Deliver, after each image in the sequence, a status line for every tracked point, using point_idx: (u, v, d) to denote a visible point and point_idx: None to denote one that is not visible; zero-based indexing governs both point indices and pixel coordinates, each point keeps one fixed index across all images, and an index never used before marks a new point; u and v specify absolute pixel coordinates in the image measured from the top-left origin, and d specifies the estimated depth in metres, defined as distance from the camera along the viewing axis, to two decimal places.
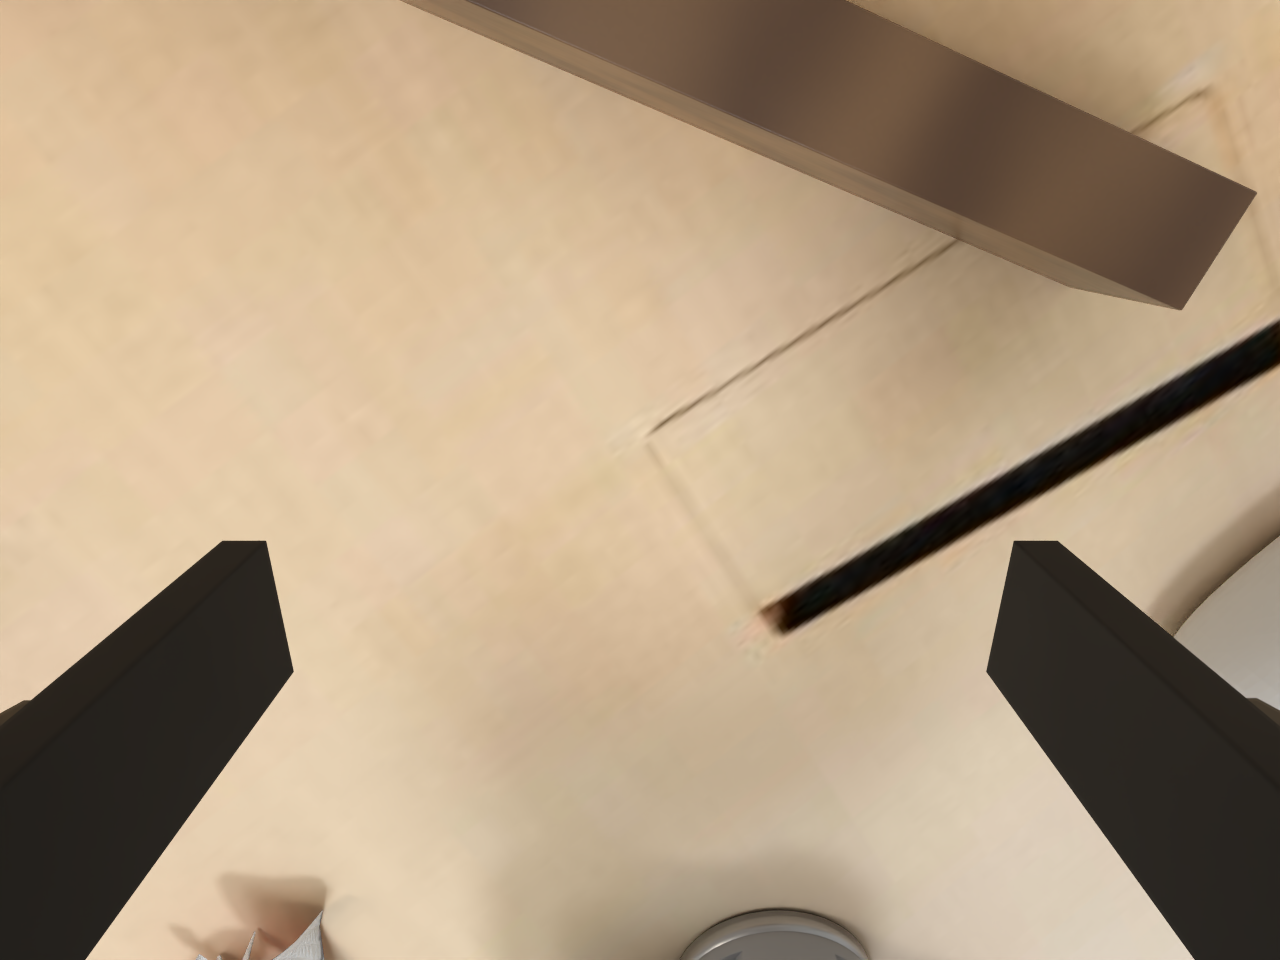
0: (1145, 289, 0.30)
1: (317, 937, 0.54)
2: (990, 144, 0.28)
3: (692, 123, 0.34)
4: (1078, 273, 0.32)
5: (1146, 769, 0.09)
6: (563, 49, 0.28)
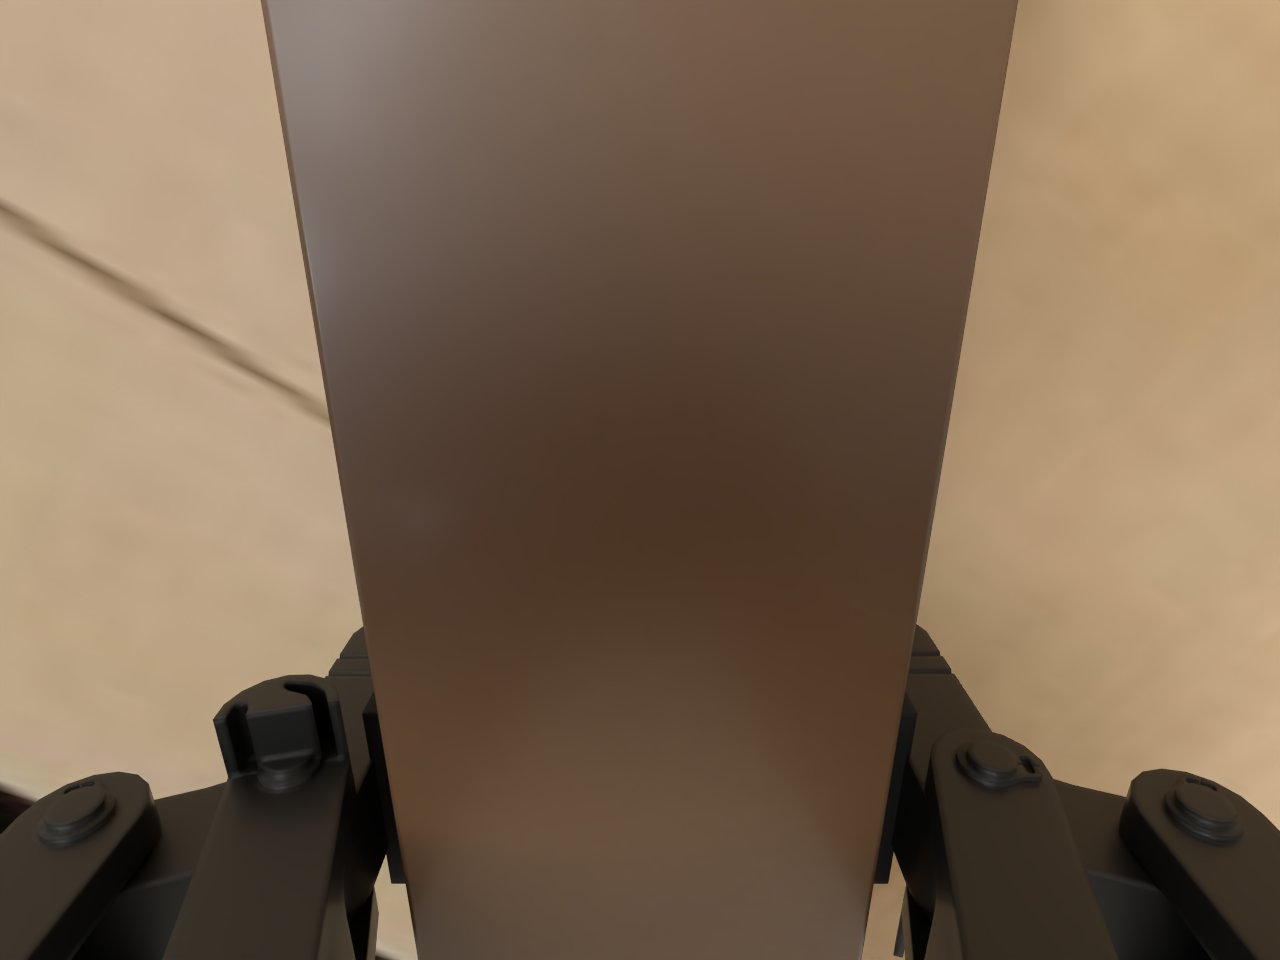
0: None
1: None
2: (662, 544, 0.06)
3: None
4: None
5: None
6: None
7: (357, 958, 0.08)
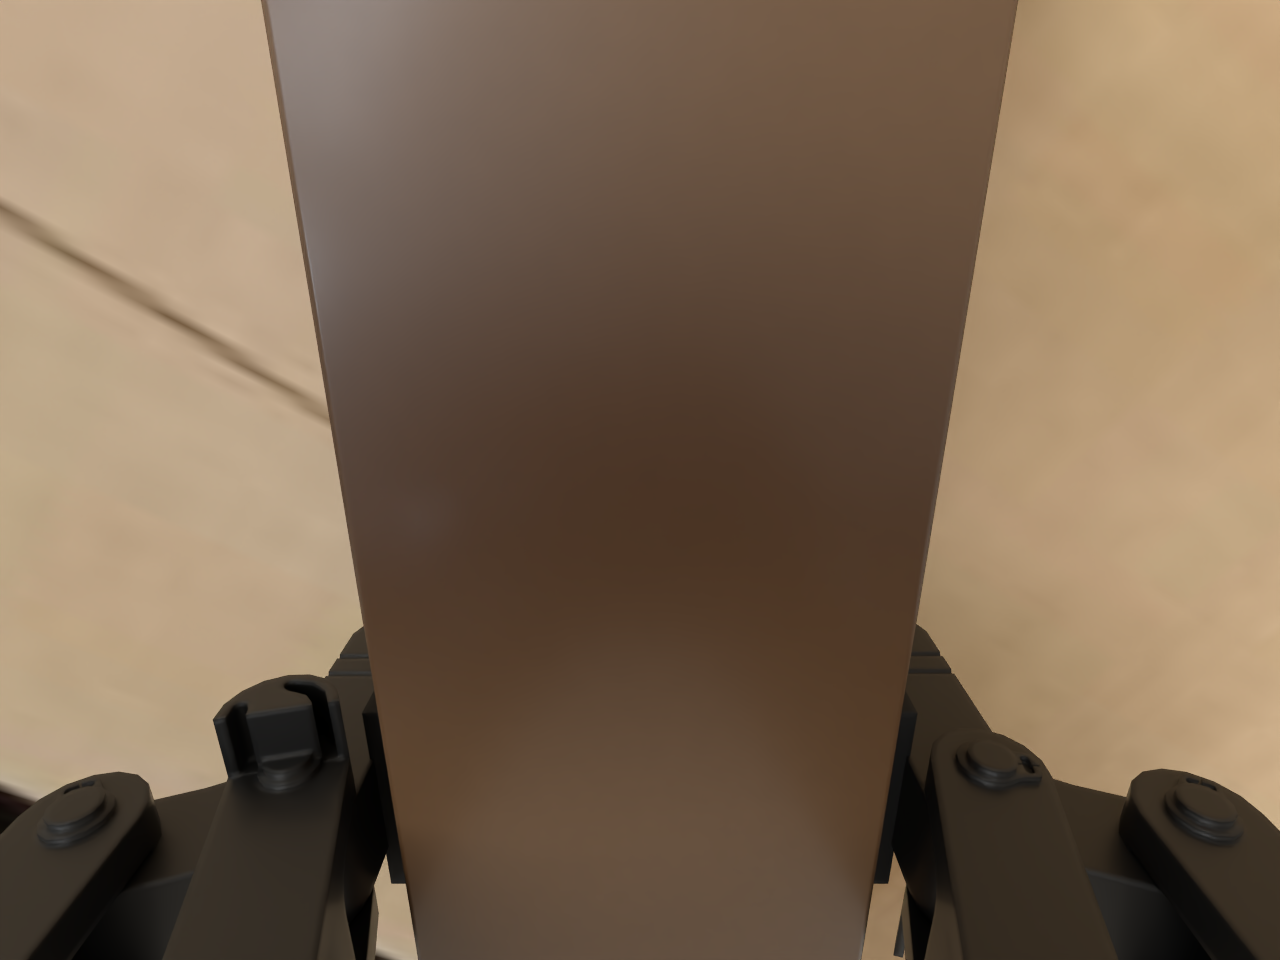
0: None
1: None
2: (662, 544, 0.06)
3: None
4: None
5: None
6: None
7: (357, 957, 0.08)
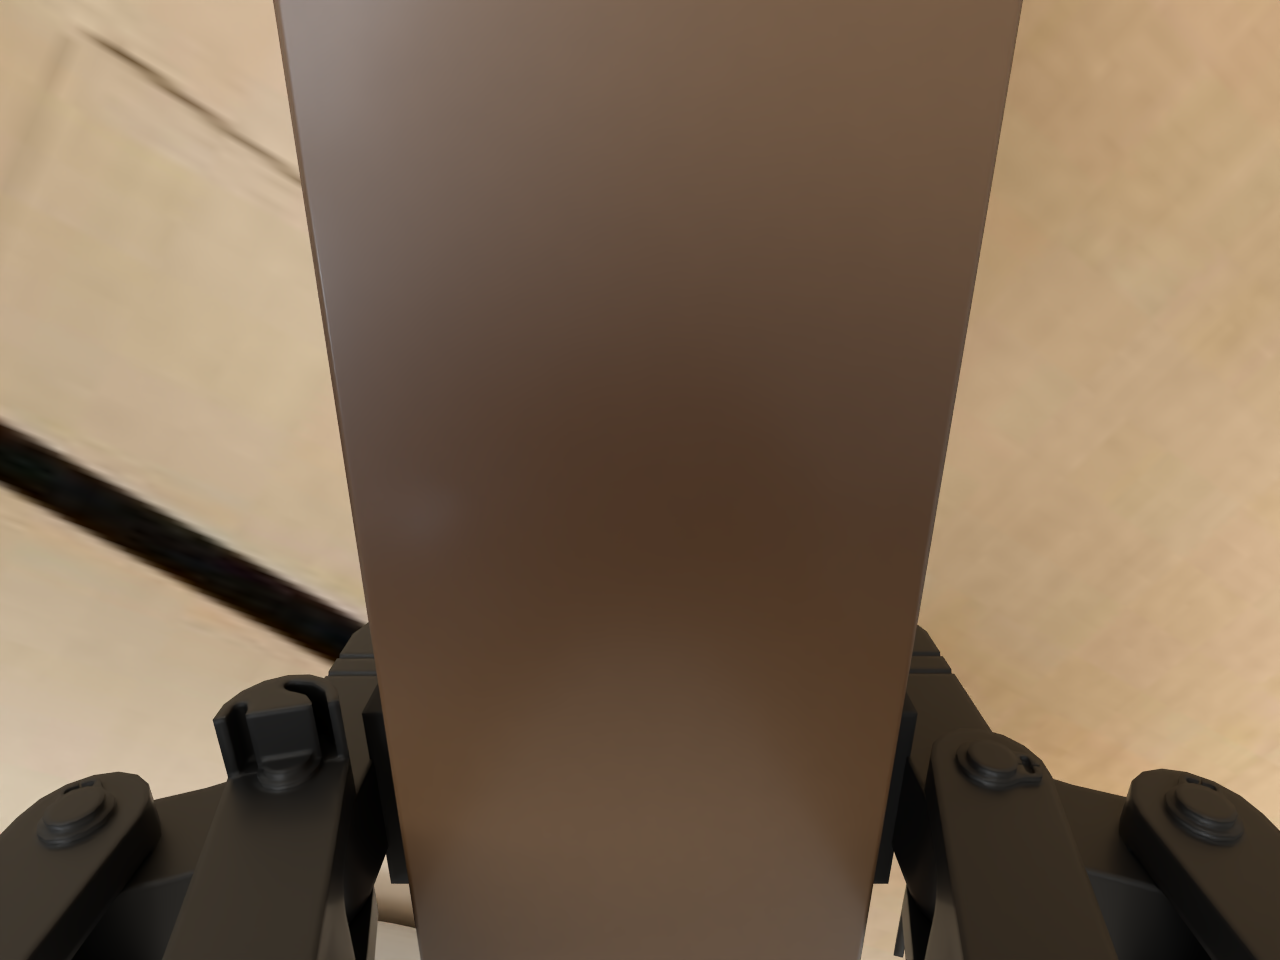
0: None
1: None
2: (667, 538, 0.06)
3: None
4: None
5: None
6: None
7: (357, 958, 0.08)
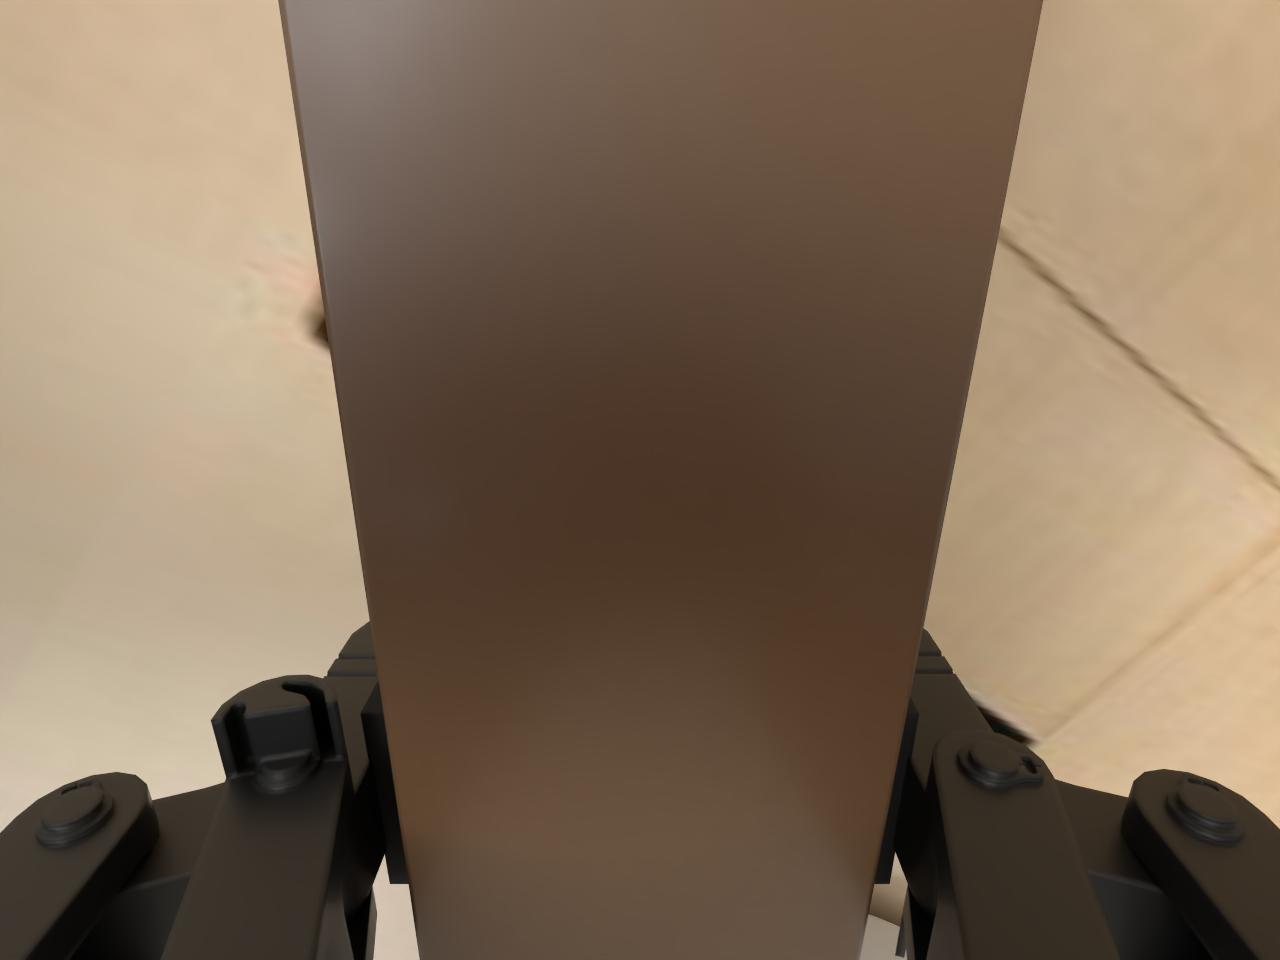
0: None
1: None
2: (671, 547, 0.06)
3: None
4: None
5: None
6: None
7: (355, 958, 0.08)
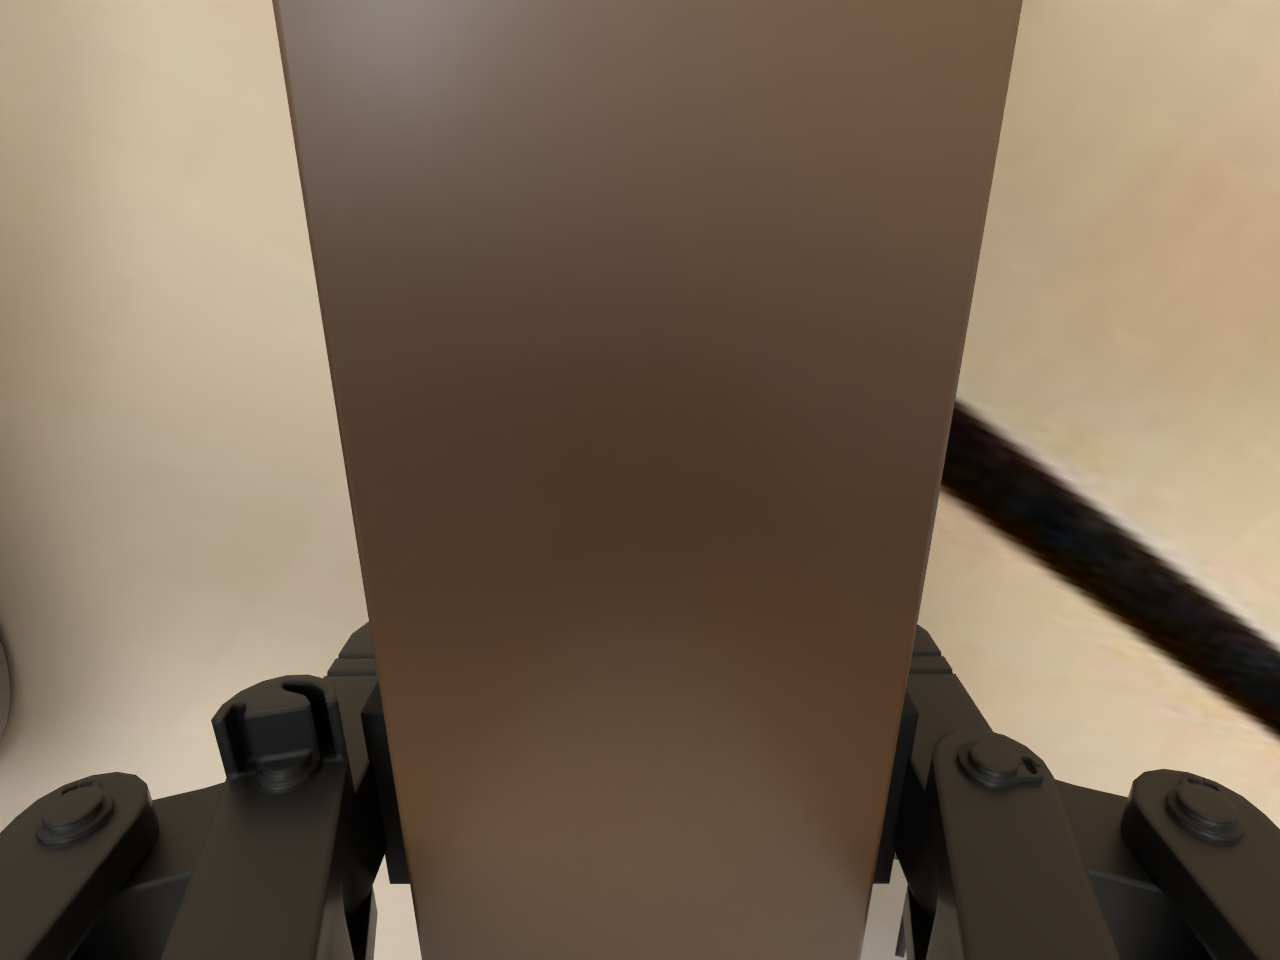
0: None
1: None
2: (668, 541, 0.06)
3: None
4: None
5: None
6: None
7: (355, 958, 0.08)
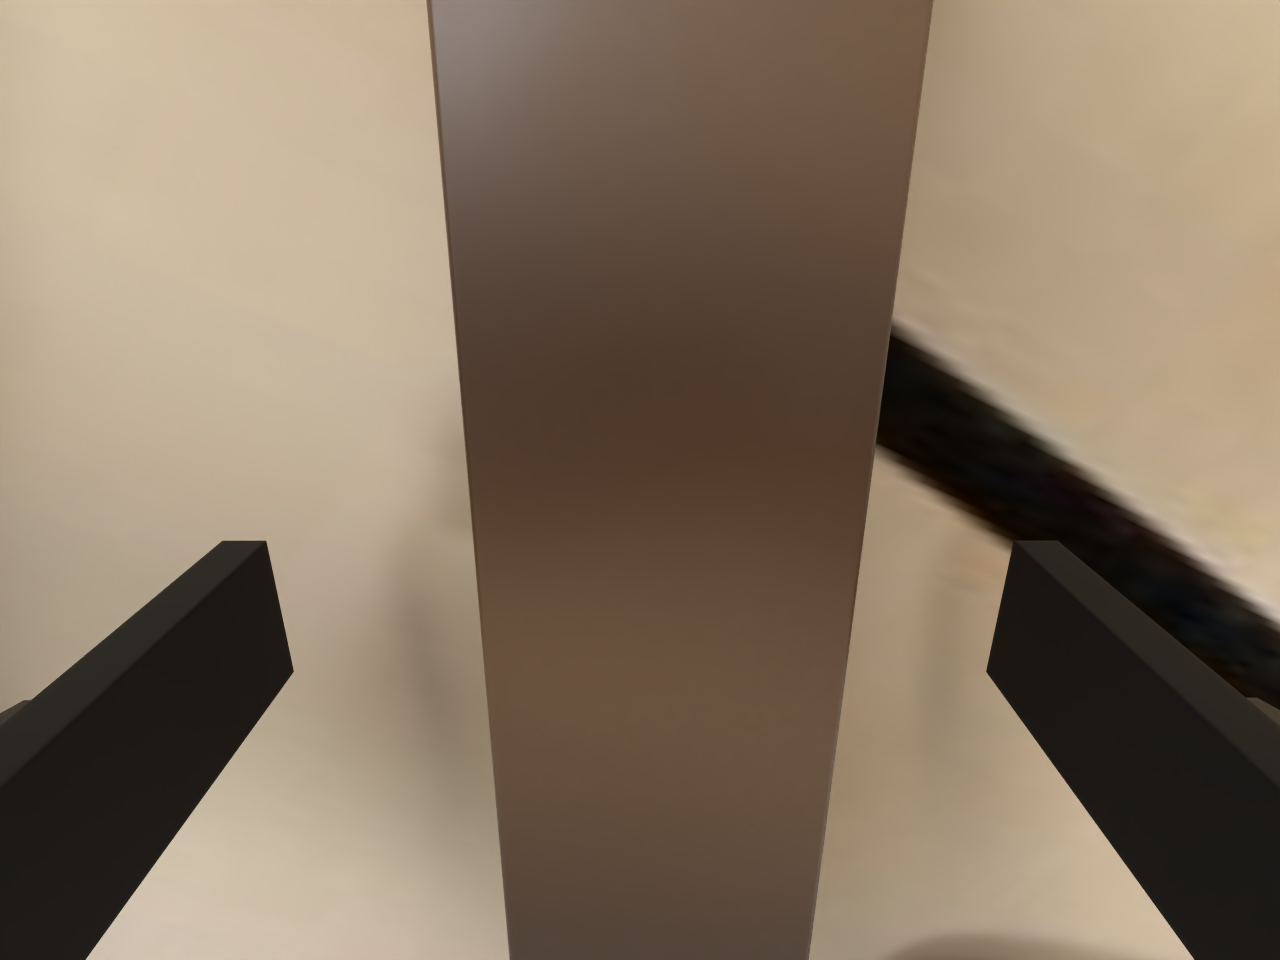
0: (518, 949, 0.12)
1: None
2: (685, 437, 0.09)
3: None
4: None
5: (1146, 769, 0.09)
6: None
7: None
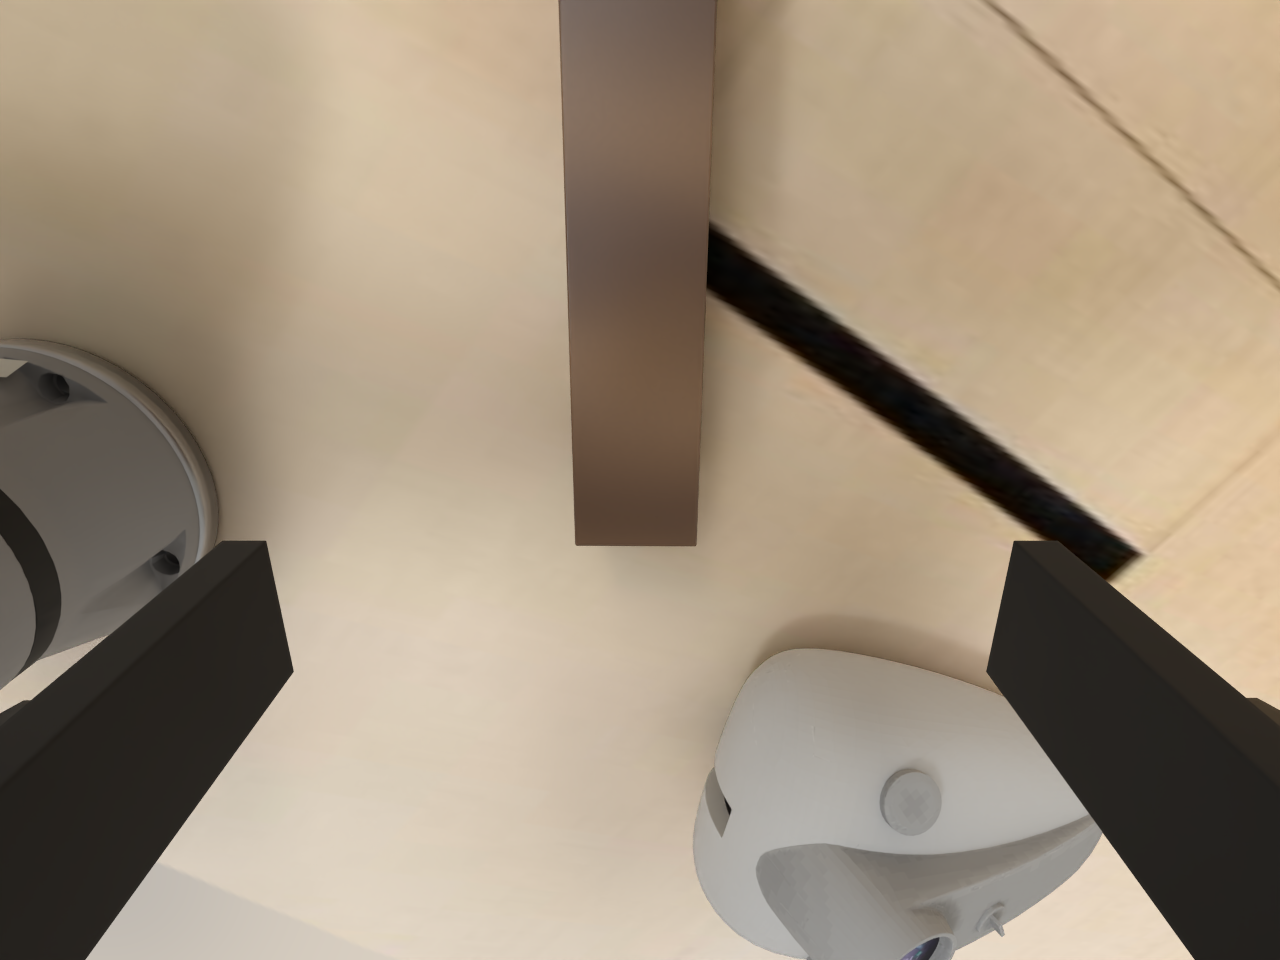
0: (578, 502, 0.29)
1: None
2: (642, 272, 0.25)
3: None
4: None
5: (1146, 769, 0.09)
6: None
7: None
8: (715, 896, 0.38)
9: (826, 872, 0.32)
